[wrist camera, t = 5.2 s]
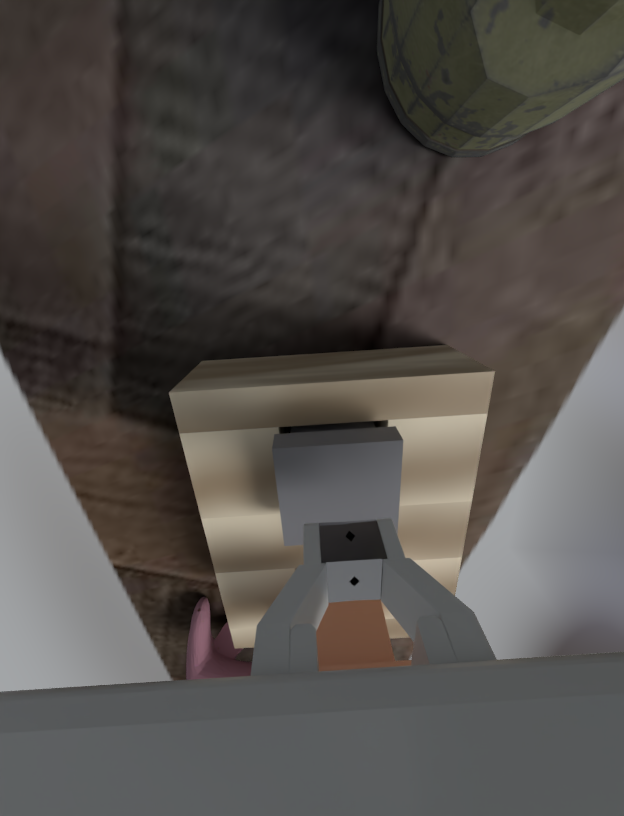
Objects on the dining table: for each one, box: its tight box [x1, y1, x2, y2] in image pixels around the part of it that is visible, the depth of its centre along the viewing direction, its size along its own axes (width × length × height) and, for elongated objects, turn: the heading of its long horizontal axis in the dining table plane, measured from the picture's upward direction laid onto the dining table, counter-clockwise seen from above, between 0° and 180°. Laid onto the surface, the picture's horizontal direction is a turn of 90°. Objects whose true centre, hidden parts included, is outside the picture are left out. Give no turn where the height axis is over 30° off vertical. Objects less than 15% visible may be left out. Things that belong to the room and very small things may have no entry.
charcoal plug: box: [272, 421, 403, 546], centre depth 17 cm, size 5×5×7 cm
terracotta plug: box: [316, 600, 412, 671], centre depth 17 cm, size 5×5×7 cm
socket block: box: [169, 345, 495, 649], centre depth 20 cm, size 18×14×5 cm
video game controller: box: [186, 597, 252, 680], centre depth 25 cm, size 10×5×7 cm, turn 84°
